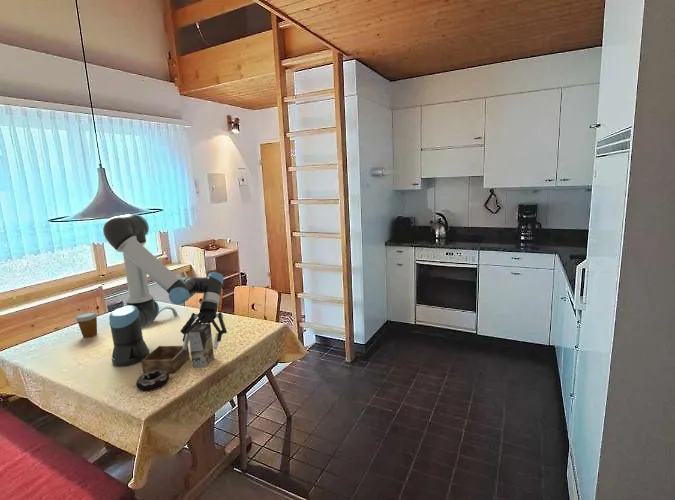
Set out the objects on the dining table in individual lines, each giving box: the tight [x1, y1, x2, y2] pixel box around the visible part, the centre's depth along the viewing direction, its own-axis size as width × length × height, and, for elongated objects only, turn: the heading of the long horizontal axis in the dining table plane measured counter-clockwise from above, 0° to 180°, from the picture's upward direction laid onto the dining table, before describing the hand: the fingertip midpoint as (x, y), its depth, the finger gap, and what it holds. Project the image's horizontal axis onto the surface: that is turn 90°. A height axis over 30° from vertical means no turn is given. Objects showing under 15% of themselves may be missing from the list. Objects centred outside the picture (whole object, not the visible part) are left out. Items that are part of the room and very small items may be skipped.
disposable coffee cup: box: [75, 311, 98, 339], centre depth 195 cm, size 10×10×12 cm
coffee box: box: [188, 323, 215, 368], centre depth 160 cm, size 9×6×16 cm
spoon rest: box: [147, 305, 178, 326], centre depth 213 cm, size 24×12×7 cm, turn 137°
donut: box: [135, 370, 170, 392], centre depth 144 cm, size 12×12×4 cm
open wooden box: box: [141, 345, 191, 375], centre depth 159 cm, size 14×14×6 cm
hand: (199, 349), depth 158 cm, fingers open, 13 cm apart
